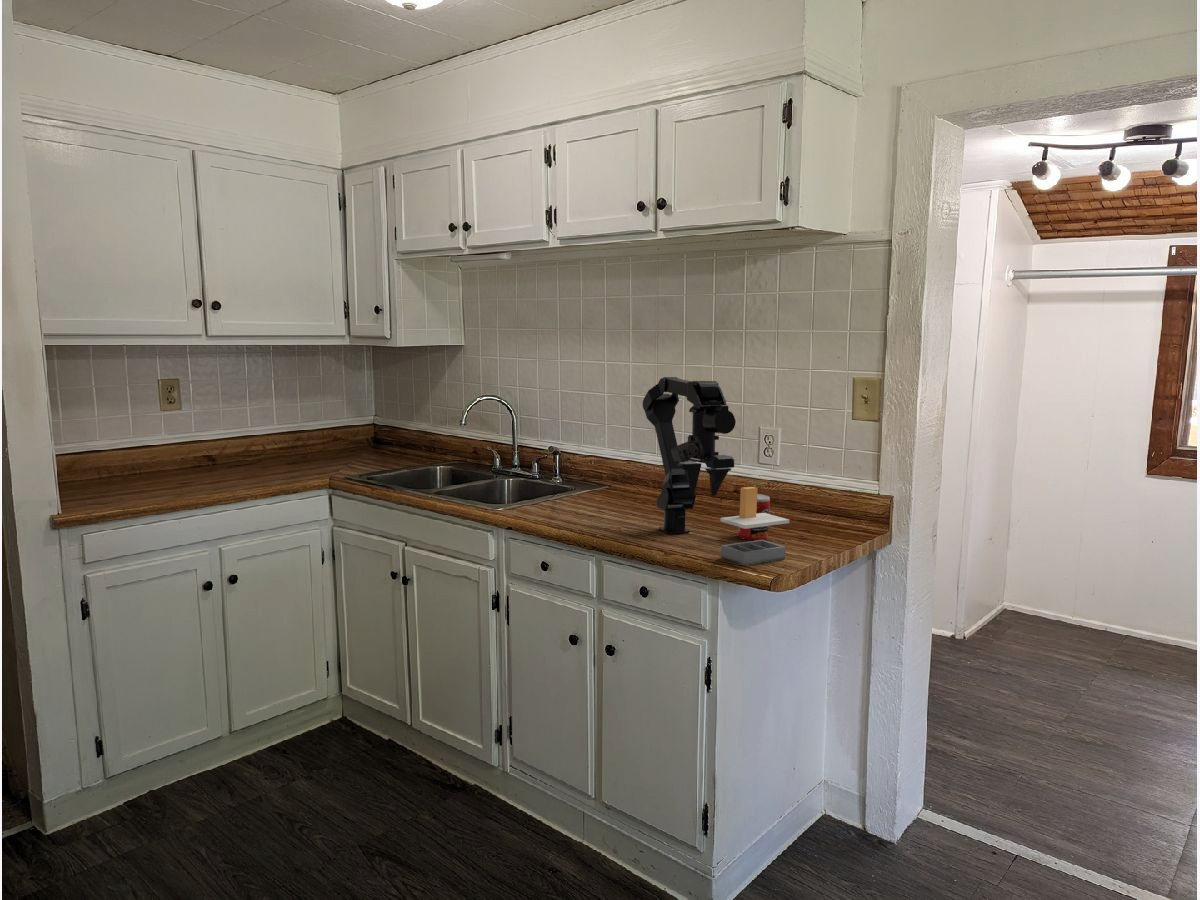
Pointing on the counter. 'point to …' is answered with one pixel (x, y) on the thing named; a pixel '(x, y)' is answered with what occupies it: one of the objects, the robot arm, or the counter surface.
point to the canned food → (757, 532)
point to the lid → (752, 512)
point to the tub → (753, 552)
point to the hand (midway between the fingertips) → (702, 493)
